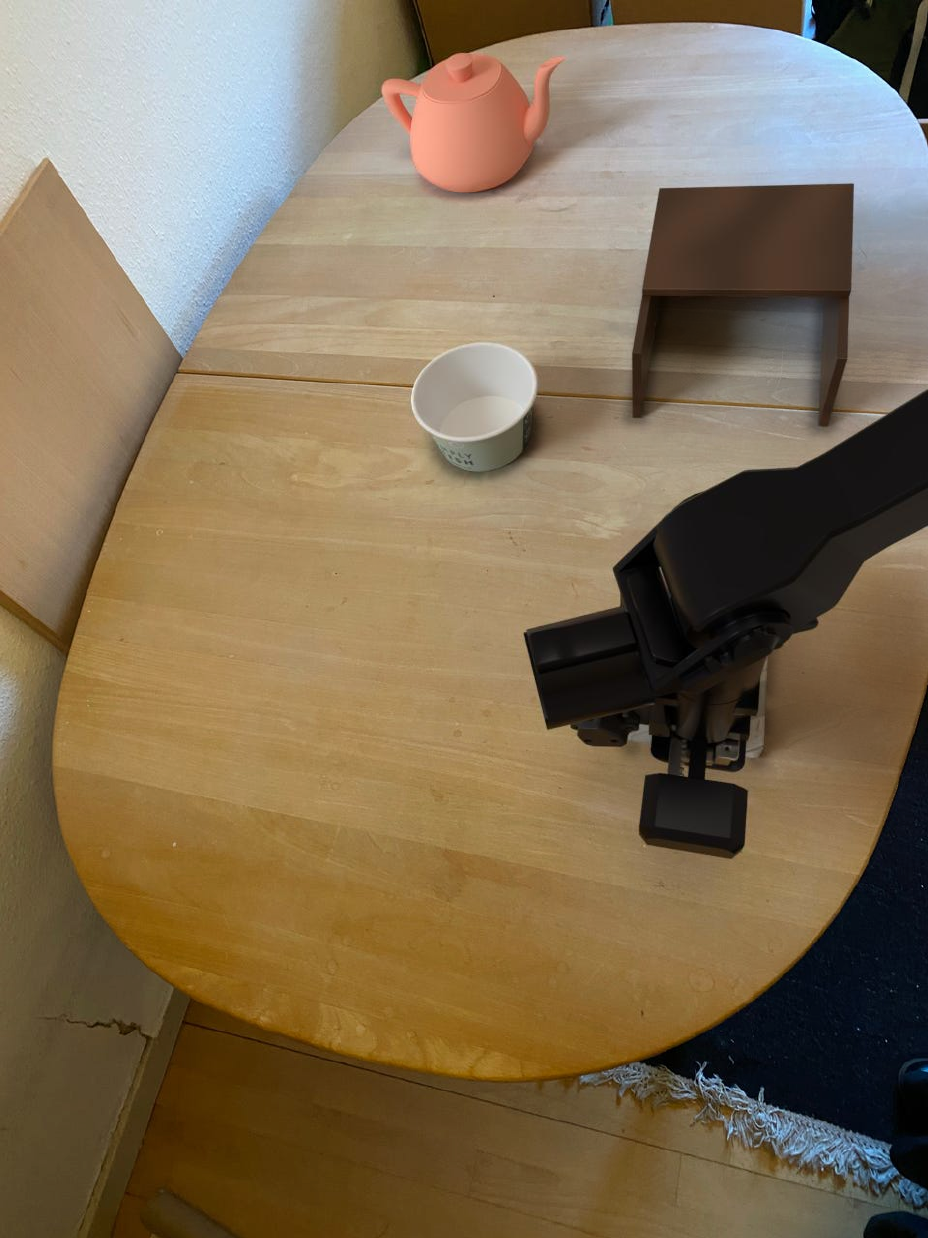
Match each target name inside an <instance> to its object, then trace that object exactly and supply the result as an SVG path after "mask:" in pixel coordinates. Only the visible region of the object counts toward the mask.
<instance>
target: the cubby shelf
mask: <svg viewBox="0 0 928 1238" xmlns="http://www.w3.org/2000/svg"><path fill="white" fill-rule="evenodd" d="M854 197H855V183H854V182H851V183H816V184H815V183H811V184H809V183H808V184H775V185H774V184H773V185H772V184H771V185H768V184H767V185H733V186H732V185H730V186H729V185H728V186H727V185H726V186H695V187H694V186H691V187H690V186H689V187H687V186H686V187H660V188H659V189H658V194H657V200H656V205H655V211H654V217H653V223H652V229H651V235H650V241H649V246H648V251H647V259H646V263H645V269H644V276H643V281H642V287H641V298H640V299H641V300H640V305H639V311H638V315H637V322H636V329H635V333H634V334H635V335H634V339H633V346H632V351H631V375H632V376H631V381H632V386H631V387H632V389H631V390H632V393H631V394H632V418H635V419H641V418H642V414H643V408H644V401H645V396H646V389H647V382H648V377H649V370H650V363H651V357H652V351H653V345H654V339H655V333H656V328H657V327H656V326H657V320H658V314H659V308H660V302H661V297H752V298H753V297H759V298H761V297H763V298H764V297H765V298H766V297H767V298H769V297H771V298H772V297H773V298H777V297H778V298H784V297H785V298H823V313H822V333H821V334H822V335H821V354H820V355H821V357H820V377H819V378H820V380H819V381H820V382H819V399H818V400H819V401H818V420H817V421H818V427H828V425H829V422H830V420H831V416H832V413H833V409H834V406H835V403H836V399H837V395H838V393H839V389H840V386H841V382H842V379H843V375H844V372H845V369H846V365H847V363H848V358H849V357H848V355H849V322H850V321H849V320H850V319H849V318H850V297H851V294H852V283H853V282H852V280H853V279H852V276H853V243H854V241H853V239H854V201H855V198H854Z"/></svg>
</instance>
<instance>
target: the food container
mask: <svg viewBox="0 0 928 1238" xmlns="http://www.w3.org/2000/svg"><path fill="white" fill-rule="evenodd" d="M538 391H539V378H538V373H537V371H536V368H535V367H534V365H533V363H532V362H531V360H530V359H529V358H528V357H527V356H526V355H525V354H524V353H522V352H521V351H520V350H518V349H516V348H514V347H512V346H511V345H506V344H503V343H499V342H492V341H491V342H490V341H478V342H477V341H476V342H470V343H466V344H462V345H457V346H455V347H453V348H450V349H448V350H446V351H444V352H442V353H441V354H439V355H437V356H436V357H434V358H433V359H432V360H431V361H430V362H429V363H428V364H427V365H426V366H425V367H424V368H423V369H422V370H421V372H420V373H419V374H418V376H417V377H416V380H415V382H414V383H413V387H412V390H411V395H410V397H411V398H410V403H411V404H410V405H411V409H412V413H413V415H414V417H415V419H416V421H417V423H419V425H420V426H421V427H422V428H423V429H424V430H425V431H426V432H428V433H429V434H430V435H431V437H432V439H433V440H434V442H435V444H436V446H437V447H438V448H439V450H440V451H441V453H442V454H443V456H444V457H445V458H446V460H447V461H448V462H450V464H452V465H453V466H455V467H456V468H459V469H462V470H464V471H468V472H479V473H480V472H490V471H494V470H497V469H499V468H503V467H505V466H506V465H508V464H510V463H512V462H513V461H515V460H516V459H517V458H518V457H519V456H520V455H521V454H522V453H523V451H524V450H525V448H526V447H527V446H528V443H529V441H530V437H531V431H532V419H533V418H532V417H533V405H534V403H535V401H536V399H537V395H538Z"/></svg>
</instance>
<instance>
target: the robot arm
mask: <svg viewBox="0 0 928 1238" xmlns="http://www.w3.org/2000/svg"><path fill="white" fill-rule="evenodd" d="M927 527H928V388H927V389H925V390H923V391H922V392H921V393H918V394H917V395H915V396H914V397H912V398H910V399H909V400H907V401H906V402H904V403H903V404H901V405H899V406H898V407H896V408H895V409H893V410H891V411H890V412H888V413H887V414H885V415H883V416H882V417H880V418H878V419H877V420H875V421H874V422H872V423H870V424H869V425H867V426H865V427H864V428H862V429H860V430H859V431H857V432H856V433H854V434H853V435H850V436H849V437H848V438H846V439H845V440H843V441H841V442H840V443H838V444H837V445H835V446H833V447H832V448H830V449H828V450H826V452H823V453H822V454H819V455H818V456H816V457H814V458H812V459H810V460H808V461H806V462H804V463H802V464H801V465H798V466H794V467H793V466H792V467H776V468H775V467H774V468H772V467H771V468H755V469H754V468H753V469H745V470H742V471H740V472H738V473H736V474H734V475H732V476H731V477H729V478H726V479H724V480H723V481H721V482H719V483H716V484H715V485H713V486H711V487H709V488H708V489H705V490H703V491H700V492H697V493H694V494H692V495H690V496H689V497H687V498H685V499H683V500H682V501H681V502H679V503H677V505H675V506H674V507H673V508H672V509H671V510H670V511H669V512H667V514H665V515H664V517H663V518H662V519H660V521H659V522H658V523H657V524H655V526H654V527H653V528H651V530H650V531H648V532H647V534H645V535H644V536H643V537H642V538H641V539H640V540H639V541H638V542H637V543H636V544H635V545H634V546H633V547H632V548H631V549H630V550H629V551H628V552H627V553H626V554H625V555H624V556H622V558H621V559H620V560H618V562H617V563H616V564H615V565H614V566H613V567H612V571H613V575H614V578H615V581H616V584H617V587H618V591H619V599H620V601H619V602H620V604H619V606H616V607H612V608H608V609H604V610H600V611H595V612H591V613H587V614H583V615H580V616H575V617H571V618H568V619H564V620H558V621H555V622H551V623H547V624H543V625H538V626H535V627H531V628H527V629H525V631H523V632H522V633H523V637H524V642H525V645H526V651H527V655H528V658H529V662H530V666H531V671H532V674H533V678H534V683H535V687H536V691H537V695H538V697H539V698H538V699H539V702H540V706H541V711H542V715H543V719H544V723H545V727H546V730H547V731H550V730H553V729H558V728H562V727H567V726H569V727H570V729H571V730H574V731H577V732H576V736H577V738H578V739H579V740H580V741H582V743H583V744H584V745H587V746H590V747H595V748H596V747H597V748H598V747H600V748H601V747H603V748H607V747H608V748H622V747H624V746H626V745H627V744H628V740H629V739H628V738H629V736H630V732H632V731H638V730H639V724H642V725H649V735H652V740H651V745H650V754H651V756H652V757H653V758H654V759H655V760H658V761H659V762H661V763H665V764H667V773H665V772H657V773H650V774H645V775H644V779H643V781H644V782H643V789H642V796H641V797H642V798H641V807H640V814H639V823H638V836H639V837H640V838H641V840H642V841H643V842H644V844H646V846H651V847H657V848H663V849H668V850H674V851H680V852H685V853H686V852H687V853H692V854H698V855H704V856H710V857H716V858H722V859H727V860H732V859H734V858H735V857H736V856H737V855H739V854H740V853H742V852H743V849H744V848H745V845H746V831H747V815H748V798H749V790H748V789H747V788H745V787H743V786H740V785H738V784H736V783H734V782H733V783H732V782H725V781H719V780H712V779H706V770H712V771H713V770H714V771H721V772H727V773H737V772H740V771H741V770H742V769H743V768H744V767H745V764H746V757H745V756H746V741H748V739H749V736H750V723H751V716H755V717H756V716H757V713H758V707H759V691H760V676H761V673H762V670H763V667H764V664H765V660H766V657H767V656H768V657H769V655H771V654H772V653H773V651H775V650H776V651H777V650H779V649H781V648H782V647H784V644H785V643H787V642H788V641H789V640H790V639H791V637H792V636H793V635H795V634H799V633H802V632H803V633H805V632H808V631H811V630H815V629H816V628H817V627H818V626H819V623H820V622H819V619H818V618H819V617H821V616H823V615H824V614H826V613H827V612H829V611H831V610H832V609H834V608H835V607H837V605H838V604H839V603H840V601H841V599H842V598H843V596H844V595H845V593H846V592H847V590H848V588H849V587H850V585H851V583H852V582H853V580H854V578H855V577H856V575H857V574H858V572H859V571H860V569H861V568H862V566H863V564H864V563H865V562H866V561H868V560H869V559H871V558H873V557H874V556H876V555H878V554H879V553H881V552H882V551H884V550H885V549H888V548H889V547H891V546H892V545H894V544H897V543H899V542H900V541H902V540H904V539H906V538H908V537H910V536H911V535H912V536H913V535H914V534H915V533H918V532H919V531H921V530H924V529H925V528H927ZM660 568H661V570H660ZM661 571H662V573H661ZM662 574H663V575H662ZM663 576H664V578H663ZM664 579H665V581H664ZM665 582H666V584H665ZM666 585H667V587H666ZM683 766H686V767H687V768H688V769H687V776H685V773H683V772H684V771H685V767H683Z"/></svg>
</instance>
